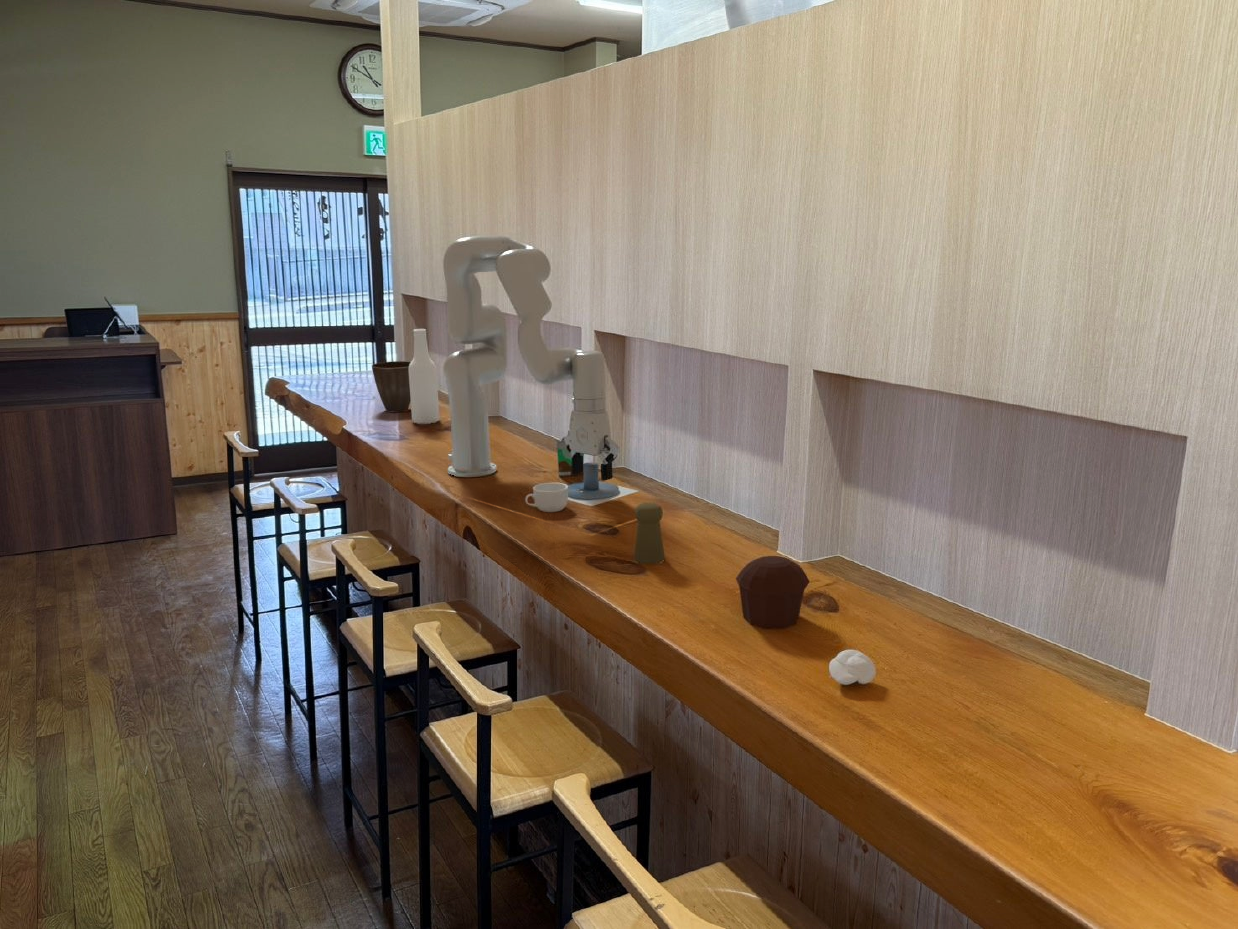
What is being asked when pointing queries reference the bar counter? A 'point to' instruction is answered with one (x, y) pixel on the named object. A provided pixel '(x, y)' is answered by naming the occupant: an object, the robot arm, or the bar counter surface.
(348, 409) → the bar counter surface
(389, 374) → the plant pot
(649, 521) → the cork
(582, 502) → the mat
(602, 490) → the lid
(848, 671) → the dumpling
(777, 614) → the muffin
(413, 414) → the alcohol
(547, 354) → the robot arm
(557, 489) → the teacup
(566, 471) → the food container
